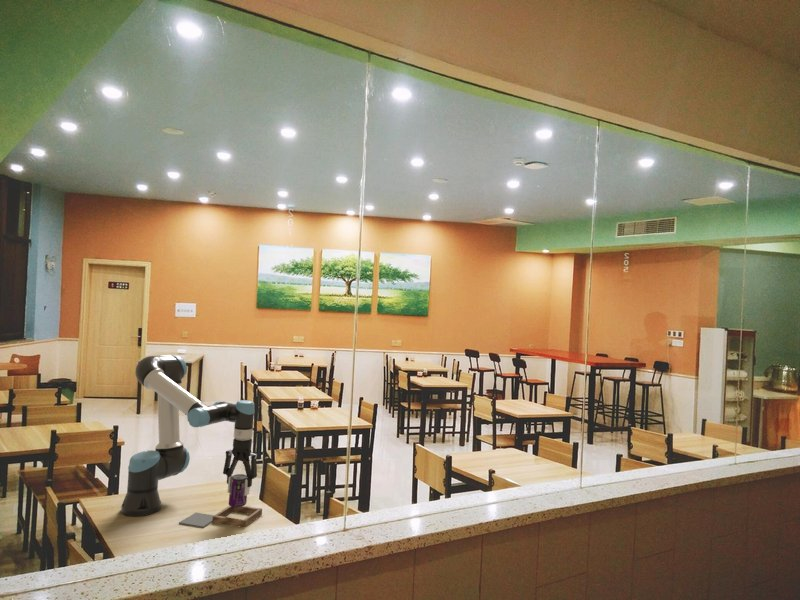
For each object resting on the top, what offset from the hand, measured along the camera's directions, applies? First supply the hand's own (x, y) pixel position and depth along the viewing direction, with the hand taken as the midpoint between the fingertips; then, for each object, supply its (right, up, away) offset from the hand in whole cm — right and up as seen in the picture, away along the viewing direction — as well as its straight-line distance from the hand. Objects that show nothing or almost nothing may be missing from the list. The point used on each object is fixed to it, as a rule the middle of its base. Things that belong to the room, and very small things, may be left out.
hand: (238, 493), depth 214 cm
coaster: (-14, -9, -5) cm, 18 cm away
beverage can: (0, -5, 0) cm, 5 cm away
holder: (0, -10, 0) cm, 10 cm away
